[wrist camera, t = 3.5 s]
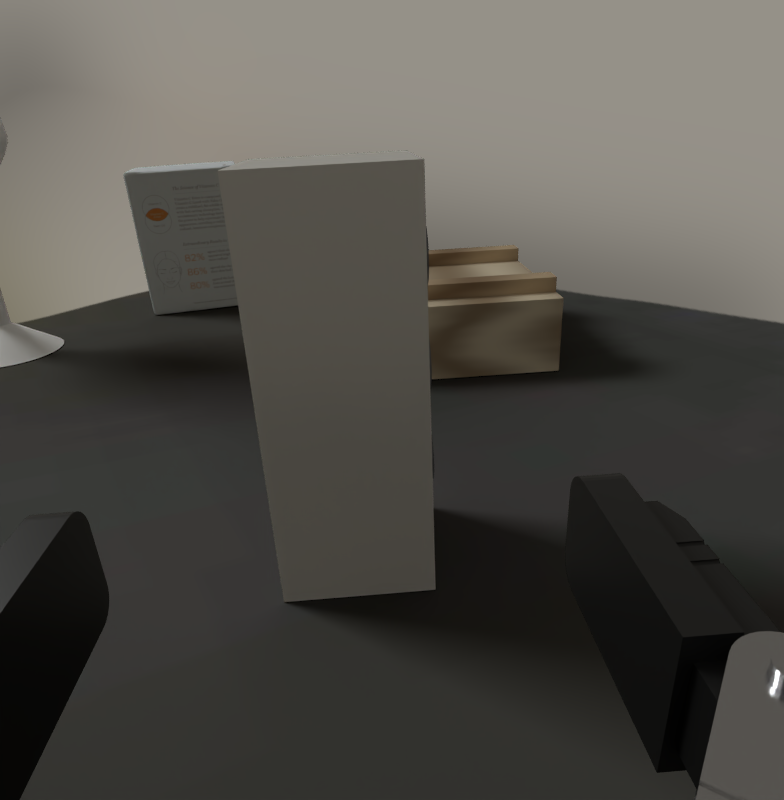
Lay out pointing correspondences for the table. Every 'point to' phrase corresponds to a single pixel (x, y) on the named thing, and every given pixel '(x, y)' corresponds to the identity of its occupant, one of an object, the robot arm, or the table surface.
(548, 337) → the brown wooden ridged block
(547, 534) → the table surface
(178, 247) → the small box
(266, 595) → the table surface
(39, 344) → the champagne flute
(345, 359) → the tall grey box
